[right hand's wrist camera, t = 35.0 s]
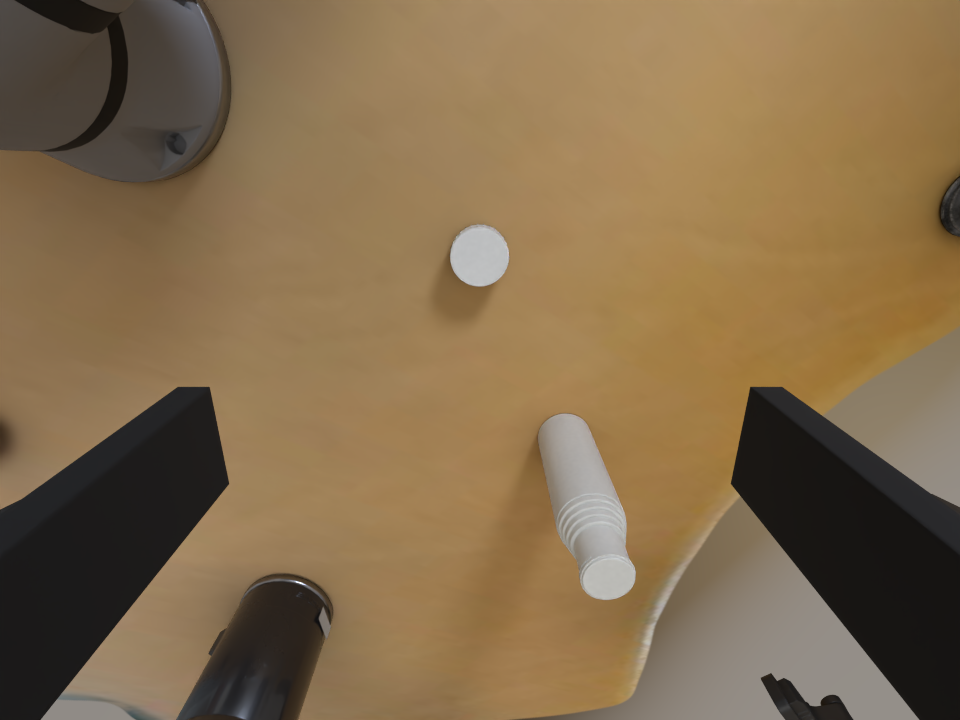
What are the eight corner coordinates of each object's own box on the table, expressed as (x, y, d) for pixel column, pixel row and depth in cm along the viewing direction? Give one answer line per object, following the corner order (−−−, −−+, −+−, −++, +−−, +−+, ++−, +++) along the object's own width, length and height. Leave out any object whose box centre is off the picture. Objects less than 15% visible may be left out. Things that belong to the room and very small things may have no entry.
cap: (439, 253, 41) (437, 258, 38) (478, 211, 40) (478, 213, 37) (480, 292, 42) (480, 299, 40) (519, 252, 41) (521, 256, 38)
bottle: (553, 405, 45) (594, 535, 29) (599, 425, 46) (665, 565, 30) (528, 447, 47) (554, 594, 31) (573, 467, 48) (622, 620, 31)
